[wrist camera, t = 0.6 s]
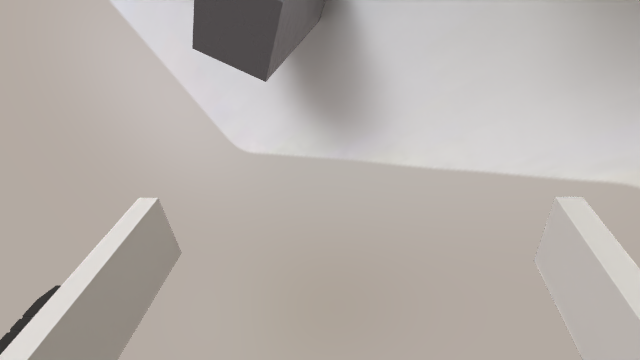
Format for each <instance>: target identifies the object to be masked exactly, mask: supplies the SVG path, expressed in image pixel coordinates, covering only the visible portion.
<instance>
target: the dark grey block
mask: <svg viewBox="0 0 640 360" xmlns="http://www.w3.org/2000/svg"><path fill="white" fill-rule="evenodd" d="M324 2H325V0H194V23H193V49H195V50H197V51H200V52H202V53H204V54H206V55H208V56H211V57H213V58H215V59H217V60H219V61H221V62H224V63H226V64H228V65H230V66H232V67H235V68H237V69H239V70H241V71H243V72H245V73H248V74H250V75H252V76H254V77H256V78H259V79H261V80H263V81H265V82H266V81H267V80H268V79H269V77H270V76H271V75H272V74H273V73H274V72H275V71H276V69H277V68H278V67H279V66H280V65H281V64H282V63H283V61H284V60H285V59H286V58H287V57H288V56H289V55H290V53H291V52H292V51H293V50H294V49H295V48H296V47H297V45H298V44H299V43H300V42H301V41H302V40H303V38H304V37H305V36H306V35H307V34H308V33H309V32H310V30H311V29H312V28H313V27H314V26H315V25H316V24H317V22H318V21H319V19H320V16H321V12H322V9H323V6H324Z"/></svg>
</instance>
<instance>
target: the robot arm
mask: <svg viewBox="0 0 640 360" xmlns="http://www.w3.org/2000/svg"><path fill="white" fill-rule="evenodd" d="M180 255H181V250H180V248H179V246H178V243H177V241H176V239H175V236H174V234H173V231H172V229H171V227H170V224H169V222H168V220H167V217H166V215H165V213H164V210H163V208H162V206H161V203H160V201H159V199H158V198H138V200H137V201H136V202H135V203H134V204H133V205H132V206H131V208H130V209H129V210H128V211H127V212H126V213H125V214H124V215H123V216H122V218H121V219H120V220H119V221H118V222H117V223H116V225H115V226H114V227H113V228H112V229H111V230H110V231H109V232H108V233H107V235H106V236H105V237H104V238H103V239H102V240H101V241H100V243H99V244H98V245H97V246H96V247H95V248H94V249H93V251H92V252H91V253H90V254H89V255H88V256H87V257H86V258H85V260H84V261H83V262H82V263H81V264H80V265H79V266H78V267H77V269H76V270H75V271H74V272H73V273H72V274H71V275H70V276H69V278H68V279H67V280H66V281H65V282H64V283H63V284H62V286H55V287H54V288H53V289H51V290H50V291H48V292H47V293H46V294H44V295H43V296H41V297H40V298H39V299H37V301H36V302H35V303H34V304H33V305H32V306H31V307H30V308H29V309H28V310H27V311H26V313H25V314H24V315H23V318H22V319H19V320H18V321H17V322H16V323H15V325H14V326H13V327H12V328H11V329H10V332H9V333H6V335H5V336H4V337H3V338H2V339H1V340H0V360H118V358H119V357H120V355H121V353H122V352H123V350H124V348H125V347H126V345H127V343H128V342H129V340H130V338H131V337H132V335H133V333H134V332H135V330H136V328H137V327H138V325H139V323H140V322H141V320H142V318H143V316H144V315H145V313H146V312H147V310H148V308H149V307H150V305H151V303H152V302H153V300H154V298H155V296H156V295H157V293H158V291H159V290H160V288H161V286H162V285H163V283H164V282H165V280H166V278H167V276H168V275H169V273H170V271H171V270H172V268H173V266H174V265H175V263H176V261H177V260H178V258H179V256H180ZM534 262H535V264H536V266H537V268H538V270H539V272H540V274H541V276H542V278H543V281H544V282H545V285H546V287H547V289H548V291H549V293H550V295H551V297H552V299H553V301H554V303H555V305H556V307H557V309H558V311H559V313H560V315H561V317H562V319H563V321H564V323H565V325H566V327H567V329H568V331H569V333H570V335H571V337H572V340H573V342H574V343H575V346H576V348H577V350H578V352H579V354H580V356H581V358H582V360H640V269H639V268H638V266H637V265H636V264H635V262H634V261H633V260H632V259H631V257H630V256H629V255H628V254H627V252H626V251H625V250H624V248H623V247H622V246H621V245H620V243H619V242H618V241H617V240H616V238H615V237H614V236H613V235H612V233H611V232H610V231H609V230H608V228H607V227H606V226H605V225H604V223H603V222H602V221H601V220H600V218H599V217H598V216H597V214H596V213H595V212H594V211H593V210H592V208H591V207H590V206H589V204H588V203H587V202H586V201H585V199H584V198H583V197H555V198H554V201H553V205H552V207H551V210H550V213H549V216H548V219H547V222H546V225H545V228H544V232H543V235H542V238H541V241H540V244H539V247H538V250H537V253H536V256H535V259H534Z"/></svg>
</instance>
